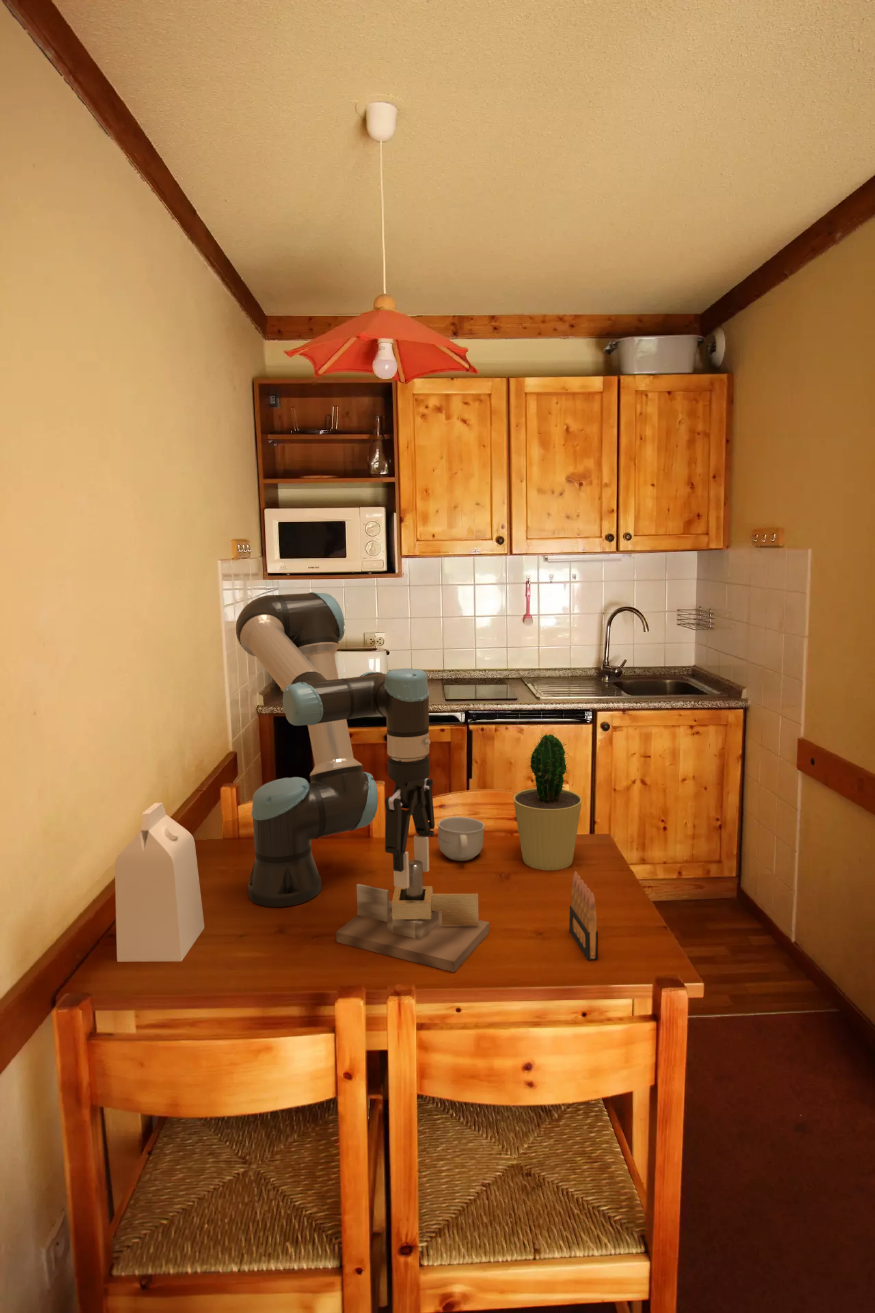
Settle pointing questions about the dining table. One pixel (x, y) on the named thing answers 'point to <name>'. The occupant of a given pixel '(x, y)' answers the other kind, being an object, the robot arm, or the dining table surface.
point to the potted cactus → (547, 810)
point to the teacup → (460, 837)
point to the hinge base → (409, 933)
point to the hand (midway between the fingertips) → (412, 877)
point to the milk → (157, 892)
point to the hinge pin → (415, 881)
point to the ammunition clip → (583, 918)
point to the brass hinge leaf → (437, 907)
